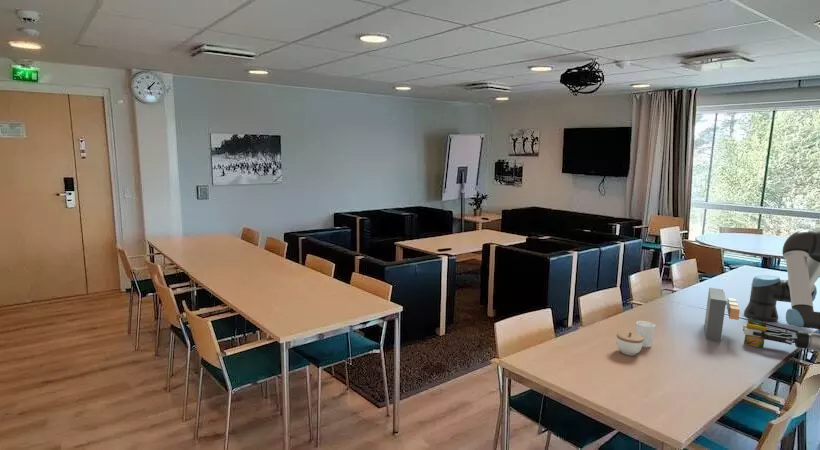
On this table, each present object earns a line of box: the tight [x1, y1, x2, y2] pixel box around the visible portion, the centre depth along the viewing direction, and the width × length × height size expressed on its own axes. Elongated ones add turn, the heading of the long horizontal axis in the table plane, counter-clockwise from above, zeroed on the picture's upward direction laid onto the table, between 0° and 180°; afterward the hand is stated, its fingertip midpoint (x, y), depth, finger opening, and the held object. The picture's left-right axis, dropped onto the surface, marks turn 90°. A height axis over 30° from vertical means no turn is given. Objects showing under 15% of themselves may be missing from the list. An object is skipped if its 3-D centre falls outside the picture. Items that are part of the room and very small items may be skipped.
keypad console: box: [704, 287, 728, 343], centre depth 233 cm, size 23×7×20 cm, turn 150°
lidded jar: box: [615, 330, 644, 357], centre depth 207 cm, size 11×11×9 cm
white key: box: [726, 297, 738, 311], centre depth 235 cm, size 5×4×5 cm
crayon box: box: [743, 318, 768, 349], centre depth 219 cm, size 7×3×12 cm, turn 50°
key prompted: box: [728, 306, 741, 321], centre depth 222 cm, size 5×4×5 cm
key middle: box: [727, 302, 739, 315], centre depth 229 cm, size 5×4×5 cm
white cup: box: [635, 320, 656, 348], centre depth 216 cm, size 8×8×10 cm
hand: (743, 329), depth 221 cm, fingers open, 4 cm apart
